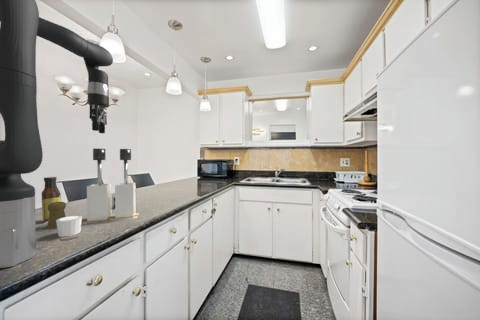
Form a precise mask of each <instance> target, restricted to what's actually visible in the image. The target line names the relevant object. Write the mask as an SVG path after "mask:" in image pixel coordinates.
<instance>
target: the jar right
mask: <svg viewBox="0 0 480 320" xmlns="http://www.w3.org/2000/svg"><path fill="white" fill-rule="evenodd" d="M136 187H137V186H136V182H128V184H127V185H124V182H120V183H119V182H118V183H117V184H115V185H114V195H115V208H114V210H115V212H114V215H115V219H124V218H133V217H134V216H135V214H136V212H137V209H136V208H137V206H136V205H137V204H136V202H137V200H136V198H137V197H136V196H137V195H136V192H137V191H136V189H137V188H136Z"/></svg>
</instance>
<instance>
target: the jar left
mask: <svg viewBox="0 0 480 320" xmlns="http://www.w3.org/2000/svg"><path fill="white" fill-rule="evenodd" d="M111 215H112V183H102V186H98V183H96V184H93V183H92V184H90V185H87V186H86V216H87V217H86V220H87V222H96V221H105V220H108V219H109V218H110V217H111Z"/></svg>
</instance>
